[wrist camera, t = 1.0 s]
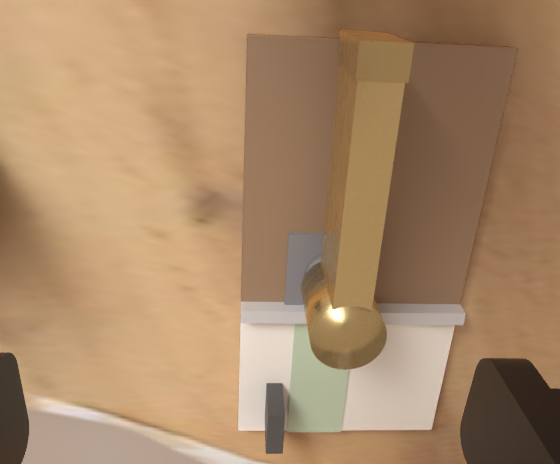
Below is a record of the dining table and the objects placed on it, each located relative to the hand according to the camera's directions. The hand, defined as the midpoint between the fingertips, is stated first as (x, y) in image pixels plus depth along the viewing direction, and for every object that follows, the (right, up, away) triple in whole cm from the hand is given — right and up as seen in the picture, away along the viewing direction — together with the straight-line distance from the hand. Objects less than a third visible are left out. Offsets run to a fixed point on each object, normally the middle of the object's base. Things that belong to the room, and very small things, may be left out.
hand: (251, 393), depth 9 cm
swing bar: (+4, +5, +17) cm, 18 cm away
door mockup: (+5, +1, +22) cm, 23 cm away
